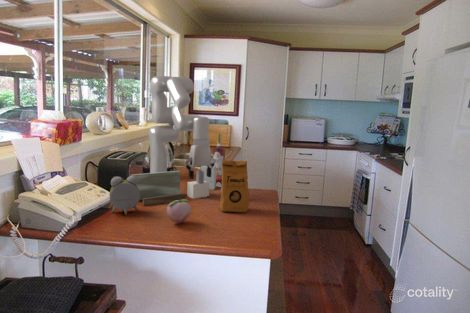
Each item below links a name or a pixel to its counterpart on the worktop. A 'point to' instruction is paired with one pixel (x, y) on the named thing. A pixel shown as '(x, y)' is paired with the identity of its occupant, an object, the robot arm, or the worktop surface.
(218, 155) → the liquor
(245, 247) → the worktop surface
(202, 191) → the white block gray post
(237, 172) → the coffee package
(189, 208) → the decorative fruit
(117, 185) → the alarm clock
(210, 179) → the supplement box
